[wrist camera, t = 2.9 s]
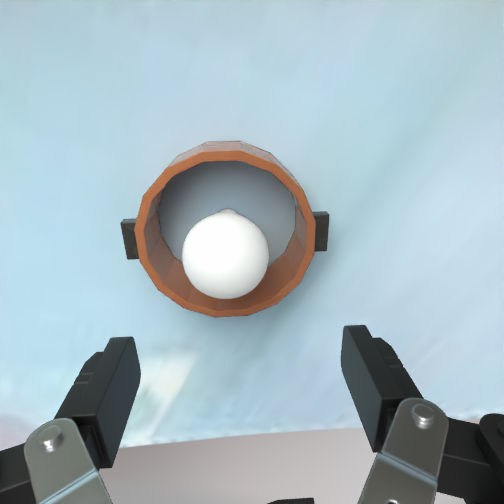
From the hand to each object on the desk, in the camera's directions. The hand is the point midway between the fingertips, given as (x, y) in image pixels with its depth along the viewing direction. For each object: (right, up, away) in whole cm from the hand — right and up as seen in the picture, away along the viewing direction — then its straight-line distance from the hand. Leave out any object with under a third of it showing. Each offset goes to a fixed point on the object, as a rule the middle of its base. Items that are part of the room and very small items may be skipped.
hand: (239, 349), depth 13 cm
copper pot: (-2, +7, +19) cm, 20 cm away
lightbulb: (-2, +7, +19) cm, 20 cm away
